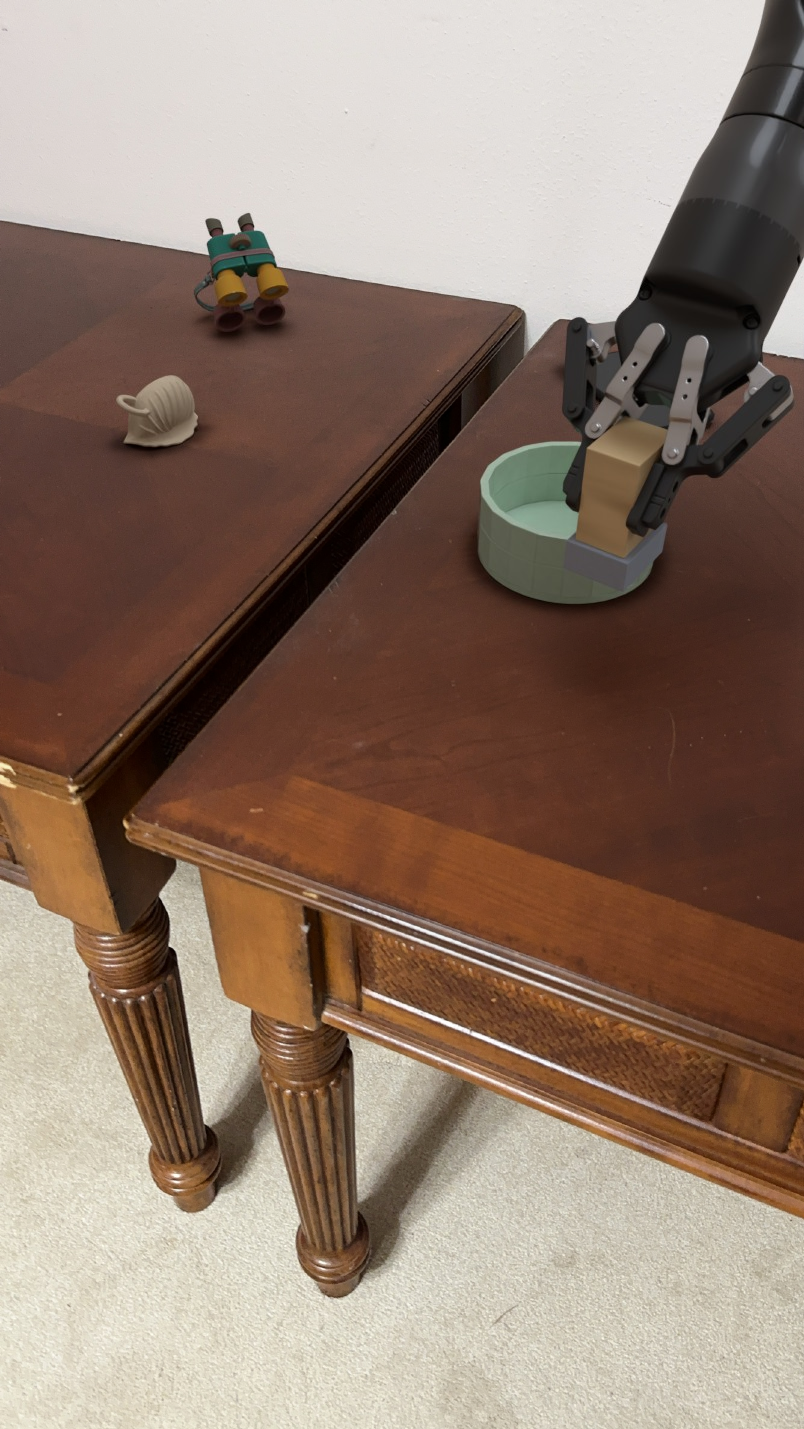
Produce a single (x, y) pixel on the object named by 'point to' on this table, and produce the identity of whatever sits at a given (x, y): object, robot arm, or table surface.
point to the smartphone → (652, 413)
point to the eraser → (615, 506)
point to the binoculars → (230, 265)
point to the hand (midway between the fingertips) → (605, 518)
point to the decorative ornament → (160, 413)
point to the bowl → (534, 526)
